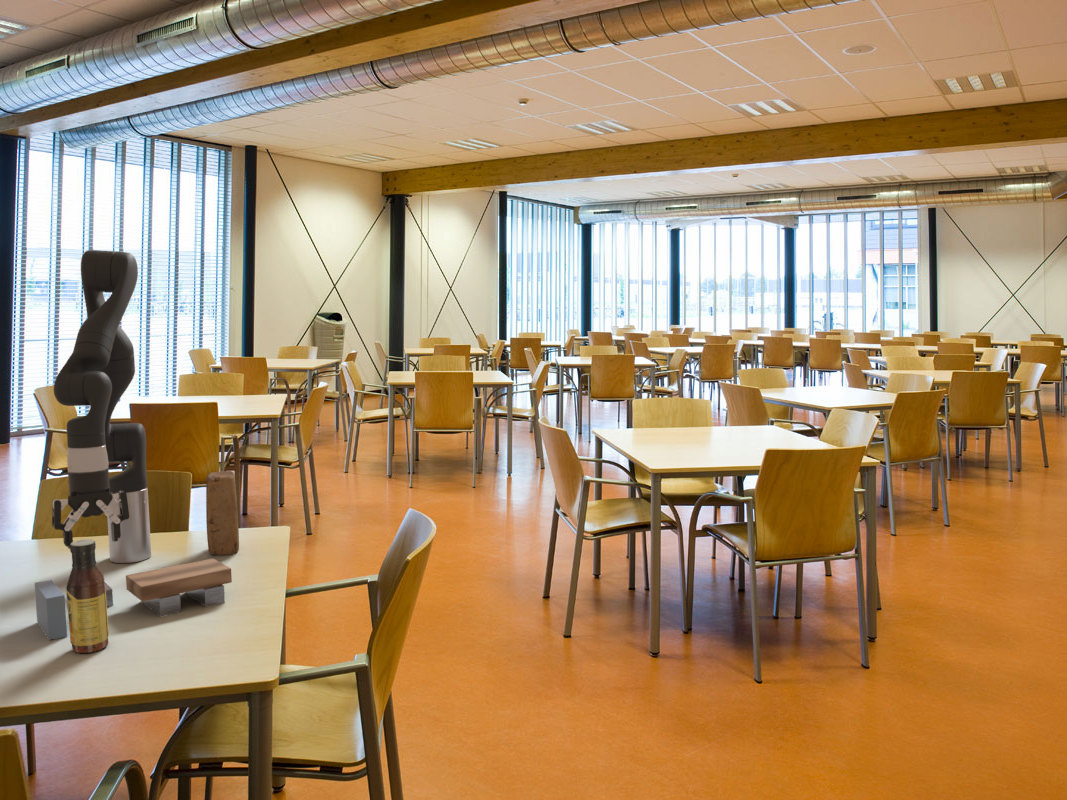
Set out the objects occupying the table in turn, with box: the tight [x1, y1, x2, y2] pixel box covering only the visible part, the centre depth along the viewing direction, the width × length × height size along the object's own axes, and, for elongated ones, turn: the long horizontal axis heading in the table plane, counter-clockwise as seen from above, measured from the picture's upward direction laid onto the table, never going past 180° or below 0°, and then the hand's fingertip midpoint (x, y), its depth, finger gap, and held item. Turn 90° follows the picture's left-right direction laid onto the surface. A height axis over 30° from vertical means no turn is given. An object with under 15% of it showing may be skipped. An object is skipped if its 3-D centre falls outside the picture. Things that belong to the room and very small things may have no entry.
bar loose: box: [104, 581, 114, 608], centre depth 185 cm, size 12×4×4 cm, turn 39°
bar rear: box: [185, 584, 226, 608], centre depth 186 cm, size 12×4×4 cm, turn 40°
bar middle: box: [140, 593, 182, 617], centre depth 181 cm, size 12×4×4 cm, turn 41°
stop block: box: [34, 579, 68, 641], centre depth 168 cm, size 12×3×8 cm, turn 39°
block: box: [205, 470, 240, 556], centre depth 221 cm, size 11×8×20 cm
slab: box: [125, 558, 233, 603], centre depth 183 cm, size 10×18×3 cm, turn 131°
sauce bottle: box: [65, 538, 110, 654], centre depth 158 cm, size 7×6×20 cm
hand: (92, 544), depth 184 cm, fingers open, 8 cm apart
